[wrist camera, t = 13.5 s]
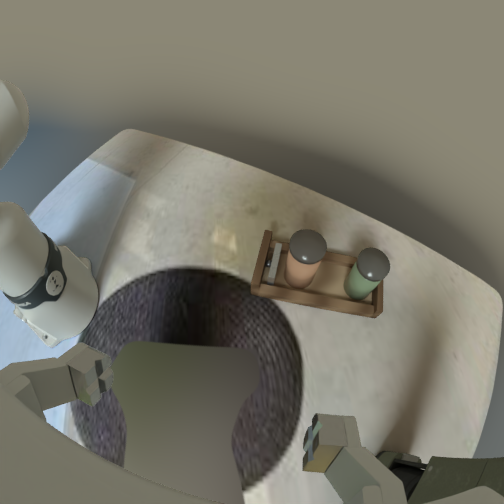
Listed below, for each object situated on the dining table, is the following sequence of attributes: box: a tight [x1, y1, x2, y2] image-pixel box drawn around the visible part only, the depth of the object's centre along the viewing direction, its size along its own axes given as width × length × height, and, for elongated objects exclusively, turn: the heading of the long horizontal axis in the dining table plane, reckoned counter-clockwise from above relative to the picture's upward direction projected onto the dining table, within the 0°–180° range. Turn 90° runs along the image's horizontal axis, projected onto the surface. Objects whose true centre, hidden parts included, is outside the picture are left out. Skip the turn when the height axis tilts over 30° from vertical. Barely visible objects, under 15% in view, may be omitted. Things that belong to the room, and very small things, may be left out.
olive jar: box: [343, 248, 390, 300], centre depth 40 cm, size 5×5×8 cm
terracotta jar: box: [284, 230, 327, 289], centre depth 41 cm, size 5×5×9 cm
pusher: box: [265, 243, 282, 286], centre depth 44 cm, size 2×6×3 cm, turn 167°
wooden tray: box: [251, 230, 383, 318], centre depth 43 cm, size 21×10×4 cm, turn 77°
